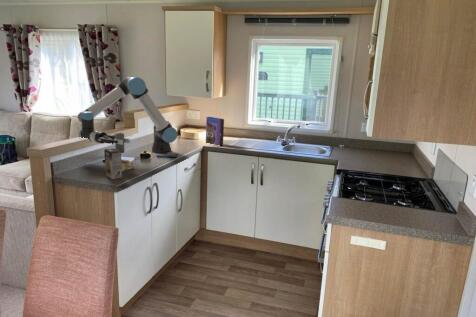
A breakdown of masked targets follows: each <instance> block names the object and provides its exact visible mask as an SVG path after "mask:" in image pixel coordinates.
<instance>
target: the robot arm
mask: <svg viewBox="0 0 476 317" xmlns="http://www.w3.org/2000/svg"><path fill="white" fill-rule="evenodd" d="M128 95H130V96H132V98H133V100H137V102H138V103H139V105H140V106H141V107H142V108H143V111H144V112H145V114H146V115H147V116H148V117H149V119H150V120H151V122H152V123H153V143H152V147H151V153H153V154H154V153H155V154H169V153H171V152H172V147H171V145H170V144H171V143H173V142H175V141H176V140H177V138H178V130H177V129H176V128H175V127H173V125H172V124H171V122H170V121H169V120H166V118H165V117H164V116H163V115H162V113H161V112H160V110H159V108H158V106H157V105H156V103H155V102H154V101H153V99H152V98H151V96H150V95H149V89H148V88H147V84H146V82H145V80H144V79H143V78H141V77H138V76H133V75H132V76H131V75H130V76H126V77H125V78H124V79H122V80H121V81H120V82H119V83H118V84H116V85H115V88H113V89H112V90H110V91H109V92H107V94H105V95H103V96H102V97H101V98H100V99H98V100H97V101H95V102H94V103H93V104H92V105H90V106H88V107H87V108H86V109H85V110H84V111H81V112H79V113H78V114H77V119H78V121H79V122H80V123H81V129H80V130H79V131H78V133H77V134H78V138H79V139H80V137H81V138H83V137H84V138H88V139H89V140H90V141H89V142H92V143H95V144H97V143H98V144H101V145H102V144H109V145H115V144H121V145H123V140H118V139H115V134H114V135H110V134H107V133H106V132H105V131H99V130H95V118H96V117H97V116H99V115H100V114H101V113H103V112H104V111H105V110H107V109H108V108H109V107H111V106H112V105H113V104H114V103H116V102H117V101H118V100H120V99H122V98H124V97H126V96H128ZM125 143H126V144H131V138H126V137H124V144H125Z"/></svg>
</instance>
